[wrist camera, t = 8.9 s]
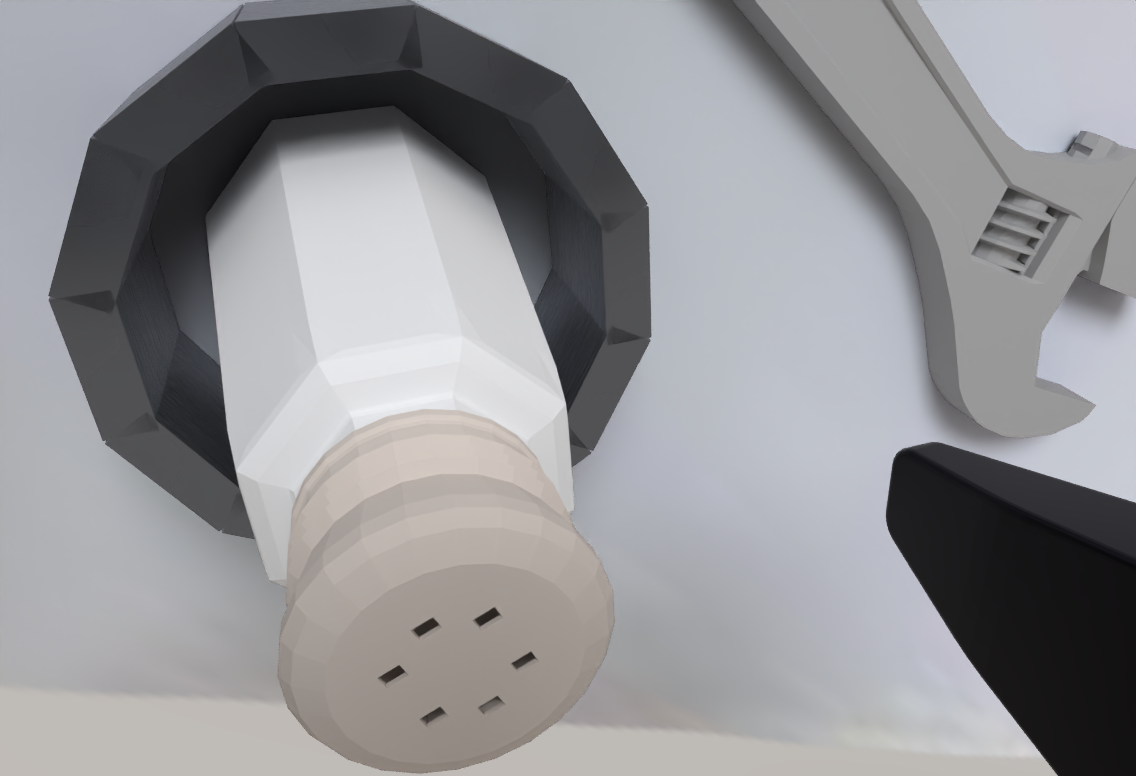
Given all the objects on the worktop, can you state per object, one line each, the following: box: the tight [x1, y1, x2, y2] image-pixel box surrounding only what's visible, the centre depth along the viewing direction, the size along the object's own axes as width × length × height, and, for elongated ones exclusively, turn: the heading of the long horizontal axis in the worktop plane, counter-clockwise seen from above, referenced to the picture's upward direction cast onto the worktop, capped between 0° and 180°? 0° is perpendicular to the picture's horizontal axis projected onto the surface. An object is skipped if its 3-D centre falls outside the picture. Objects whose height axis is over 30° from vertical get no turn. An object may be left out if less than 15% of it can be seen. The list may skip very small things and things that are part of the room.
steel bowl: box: [48, 0, 651, 539], centre depth 15 cm, size 9×9×4 cm
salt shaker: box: [205, 105, 615, 773], centre depth 12 cm, size 5×5×11 cm
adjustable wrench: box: [732, 0, 1136, 438], centre depth 16 cm, size 25×6×2 cm, turn 41°
